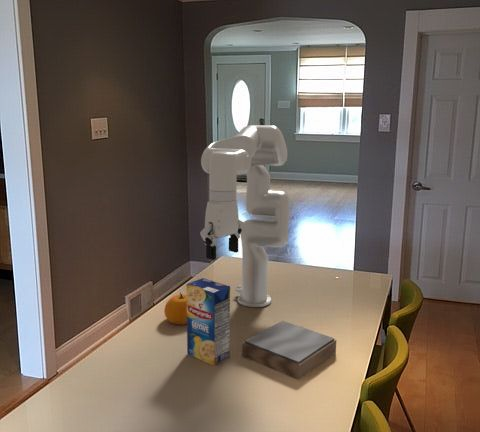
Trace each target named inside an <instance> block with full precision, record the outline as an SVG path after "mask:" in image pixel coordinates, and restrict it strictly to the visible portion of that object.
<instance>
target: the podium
mask: <svg viewBox="0 0 480 432" xmlns="http://www.w3.org/2000/svg"><path fill="white" fill-rule="evenodd" d="M241 347H242V348H241V357H243V358H245V359H247V360H250V361H252V362H254V363H257V364H260V365H261V366H265V367H266V368H269V369H271V370H274V371H276V372H279V373H281V374H283V375H286V376H288V377H290V378H293V379H295V380H298V381H299V380H300V379H302V378H304V377H305V376H306V375H307V374H309V373H311V372H312V371H313V370H315V369H316V368H318V367H319V366H321V365H322V364H323V363H324V362H326V361H328V360H329V359H330V358H331V357H333V356H334V355H336V354H337V353H336V352H337V339H335V338H334V337H331V336H329V335H326V334H323V333H320V332H317V331H315V330H312V329H309V328H305V327H304V326H303V327H302V326H300V325H297V324H294V323H291V322H288V321H285V320H281V321H278V322H277V323H275V324H274V325H272V326H270V327H267V328H266V329H264V330H262V331H260V332H258V333H256V334H255V335H253V336H250V337H249V338H246V339H245V340H244V341H243V342H242V344H241Z"/></svg>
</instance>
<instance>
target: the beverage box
mask: <svg viewBox="0 0 480 432" xmlns="http://www.w3.org/2000/svg"><path fill="white" fill-rule="evenodd" d="M185 287H186V295H187V324H186V341H187V342H186V347H187V349H186V350H187V354H188V355H189V356H192V357H193V358H196V359H198V360H201V361H202V362H205V363H207V364H210V365H211V366H216V365H217V364H219V363H221V362H223V361H225V360H226V359H228V358H230V356H231V354H230V353H231V349H230V348H231V285H227V284H224V283H219V282H218V281H213V280H210V279H208V278H203V277H202V278H199V279H197V280H193V281H191V282H189V283H186V286H185Z"/></svg>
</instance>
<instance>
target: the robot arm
mask: <svg viewBox="0 0 480 432" xmlns="http://www.w3.org/2000/svg"><path fill="white" fill-rule="evenodd" d="M287 159H288V147H287V145H286V141H285V138H284V135H283V132H282V131H281V130H280V128H278V127H277V126H276V125H262V124H261V125H255V124H251V125H246V126H244V127H243V128H242V129H240V131H238V133H236V135H234V136H231V137H226V138H223V139H220V140H217V141H213V142H212V143H210V144H209V145H208V146H207V147H205V149H204V151H203V152H202V155H201V158H200V164H201V168H202V170H203V171H204V172H205V173H207V174H209V176H208V177H209V178H208V179H209V181H208V182H209V194H208V195H209V198H208V199H209V201H207V204H206V209H205V217H204V228H203V229H201V231H200V232H199V234H200V237H201V241H202V242H203V243H204V245H205V248H206V249H205V253H206V255H205V258H206V259H209V260H213V261H215V260H217V245H216V243H217V241H218V239H223V238H225V237H228V251H229V252H232V253H239V239H240V242H241V249H242V250H241V251H242V252H241V253H242V254H241V256H242V262H241V263H242V265H241V266H242V267H241V268H242V269H241V271H242V274H241V276H242V277H241V285H239V284H238V285H237V286H236V288H235V289H234V291H235V292H236V293H238V294H239V296H238V297H237V302H238V303H239V304H240V305H241V306H244V307H248V308H264V307H266V306H269V305H270V304H271V303H272V298H271V296H270V295H268V284H269V282H268V280H269V279H268V274H269V273H268V271H269V256H268V253H267V252H266V250H265V248H264V247H271V248H283V247H285V246H286V245H287V243H288V239H289V226H290V225H289V223H290V207H291V205H290V198H289V195H288V194H287V192H285V191H283V190H271V175H270V172H269V170H267V168H266V167H265V166H267V167H269V166H270V167H271V166H272V167H280V166H283V165H284V164H286V161H287ZM243 175H246V194H245V195H246V196H245V197H246V198H245V209H246V212H247V213H248V214H249V215H250V216H251V215H252V216H257V217H271V218H272V217H273V218H275V220H272V219H271V220H269V219H256V218H253V219H251V218H250V219H246V220H244V221H242V220H241V219H239V208H238V207H239V206H238V200H237V181H238V179H237V176H243ZM211 239H212V240H211Z"/></svg>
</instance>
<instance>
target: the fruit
mask: <svg viewBox="0 0 480 432" xmlns="http://www.w3.org/2000/svg"><path fill="white" fill-rule="evenodd" d="M164 316H165V318H166V319H167V321H168V322H170V323H172V324H175V325H187V294H182V293H181V292H180V293H179V294H177V295H176V294H175V295H173V296H171V298H169V299H168V300H167V302H166V303H165V305H164Z"/></svg>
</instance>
